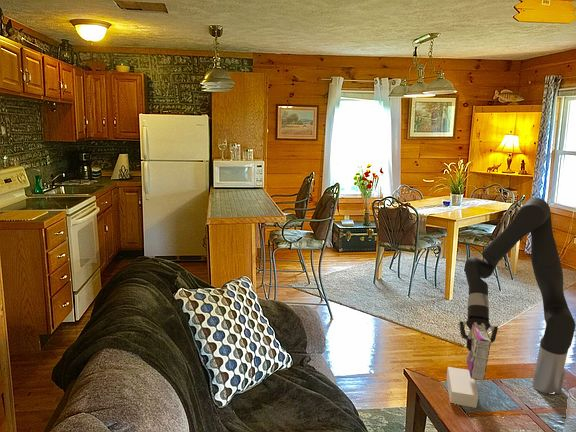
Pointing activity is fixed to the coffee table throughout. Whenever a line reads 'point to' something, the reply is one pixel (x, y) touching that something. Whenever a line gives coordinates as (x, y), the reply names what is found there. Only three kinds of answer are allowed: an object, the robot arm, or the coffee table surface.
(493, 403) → the coffee table surface
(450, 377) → the plain white box
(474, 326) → the candy bar box
